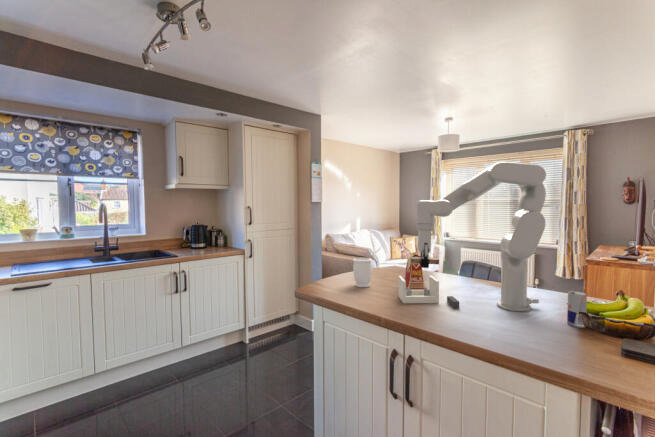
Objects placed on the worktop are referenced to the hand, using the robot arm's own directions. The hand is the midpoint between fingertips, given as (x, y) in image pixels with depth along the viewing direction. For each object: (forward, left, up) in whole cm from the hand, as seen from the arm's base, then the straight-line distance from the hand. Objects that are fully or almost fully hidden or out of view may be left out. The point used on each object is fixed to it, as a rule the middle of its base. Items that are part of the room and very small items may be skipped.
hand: (424, 265), depth 143 cm
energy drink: (-47, +29, -17) cm, 58 cm away
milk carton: (-1, -21, -17) cm, 27 cm away
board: (0, 0, +2) cm, 2 cm away
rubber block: (-11, +7, -16) cm, 21 cm away
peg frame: (+2, -2, -16) cm, 17 cm away
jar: (+26, -27, -17) cm, 41 cm away
